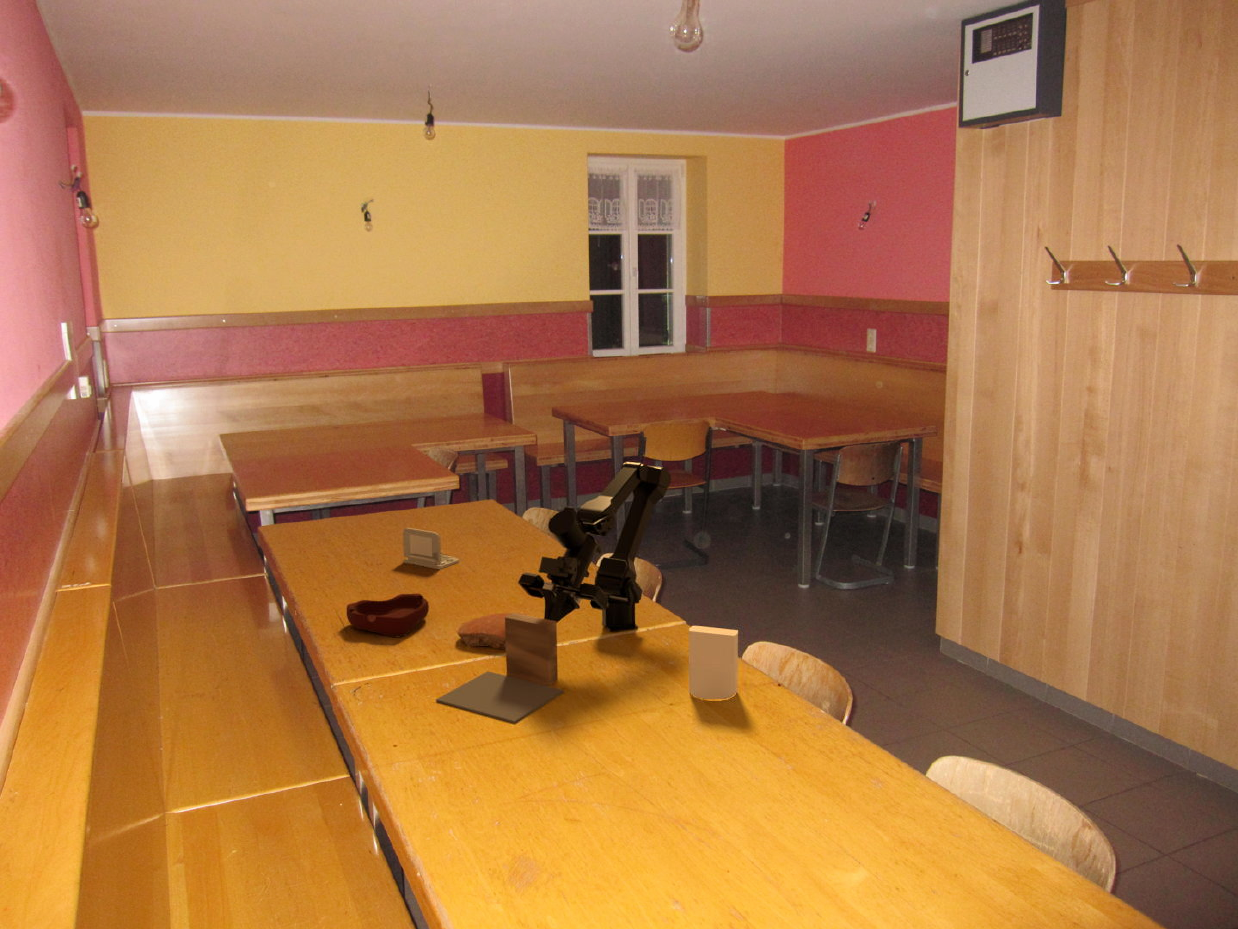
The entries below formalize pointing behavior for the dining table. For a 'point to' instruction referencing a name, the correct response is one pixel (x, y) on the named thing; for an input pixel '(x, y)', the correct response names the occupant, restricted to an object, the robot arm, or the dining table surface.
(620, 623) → the robot arm
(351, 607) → the ashtray
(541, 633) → the brown wooden block
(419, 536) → the handheld gaming console
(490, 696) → the charcoal rubber mat
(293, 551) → the dining table surface
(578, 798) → the dining table surface
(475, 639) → the ceramic shard
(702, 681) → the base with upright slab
